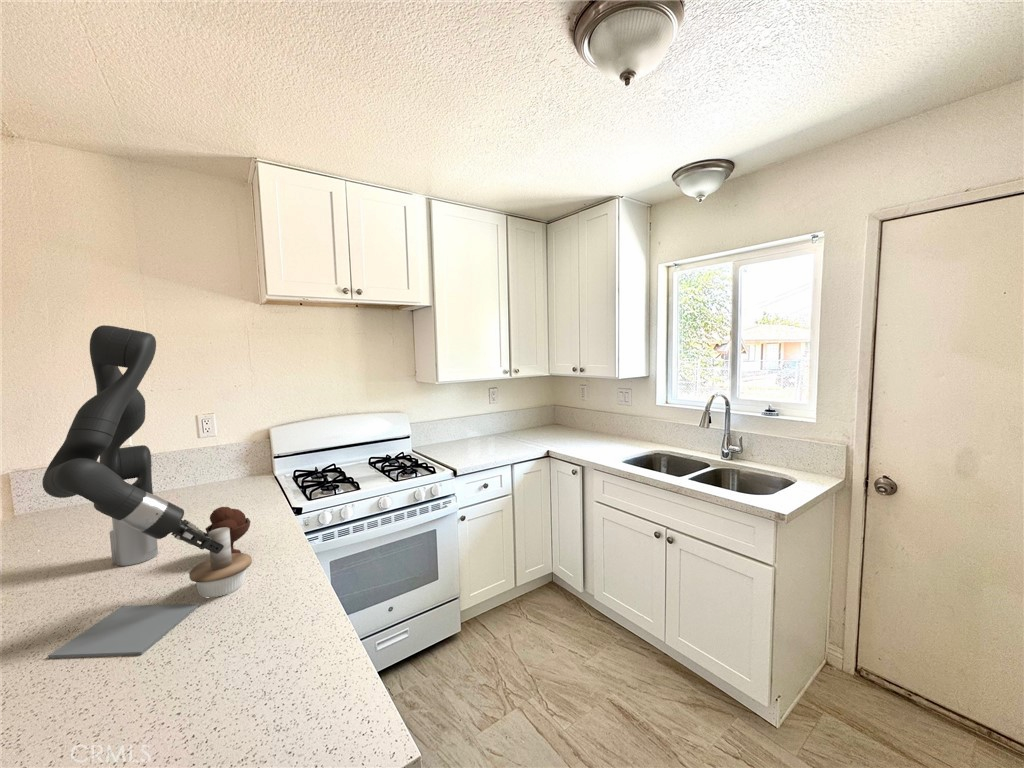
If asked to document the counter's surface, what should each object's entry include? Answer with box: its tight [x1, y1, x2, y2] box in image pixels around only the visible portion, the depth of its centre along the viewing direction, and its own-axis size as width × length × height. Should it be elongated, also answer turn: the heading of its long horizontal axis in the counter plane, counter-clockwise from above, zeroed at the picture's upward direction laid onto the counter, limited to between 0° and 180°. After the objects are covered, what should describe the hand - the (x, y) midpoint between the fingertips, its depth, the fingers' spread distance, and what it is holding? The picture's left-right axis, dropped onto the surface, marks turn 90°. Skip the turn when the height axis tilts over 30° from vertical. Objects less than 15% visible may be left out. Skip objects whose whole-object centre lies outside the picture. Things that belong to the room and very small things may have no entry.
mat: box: [47, 602, 201, 659], centre depth 90 cm, size 18×16×1 cm
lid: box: [188, 527, 253, 583], centre depth 105 cm, size 13×13×10 cm
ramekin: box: [195, 569, 247, 599], centre depth 106 cm, size 11×11×5 cm
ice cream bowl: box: [204, 506, 251, 554], centre depth 122 cm, size 11×11×15 cm
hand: (215, 545), depth 104 cm, fingers open, 8 cm apart
